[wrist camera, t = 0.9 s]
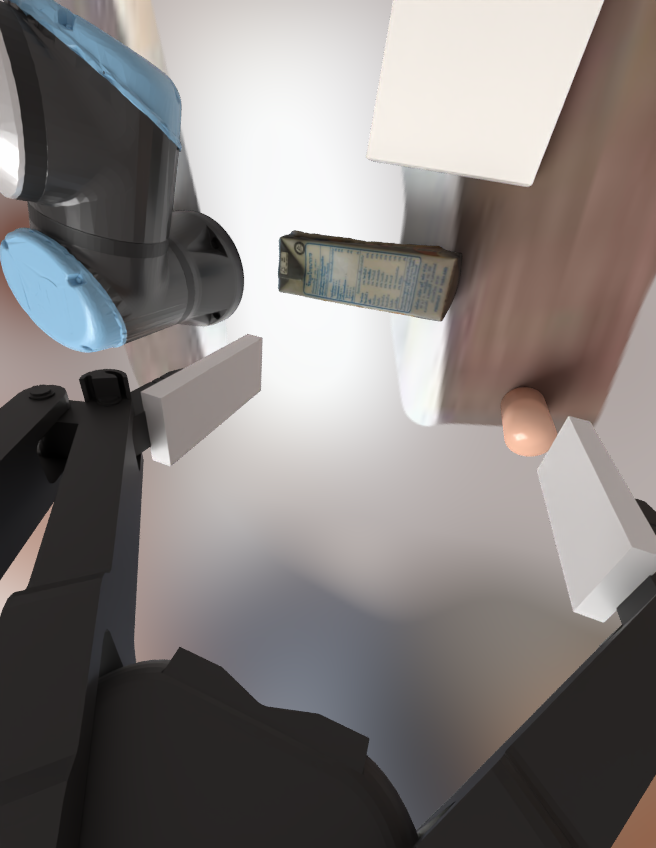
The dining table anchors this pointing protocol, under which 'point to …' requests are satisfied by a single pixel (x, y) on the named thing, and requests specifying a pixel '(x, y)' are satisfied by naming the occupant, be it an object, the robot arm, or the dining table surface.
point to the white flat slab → (477, 84)
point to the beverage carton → (370, 274)
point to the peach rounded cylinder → (527, 422)
